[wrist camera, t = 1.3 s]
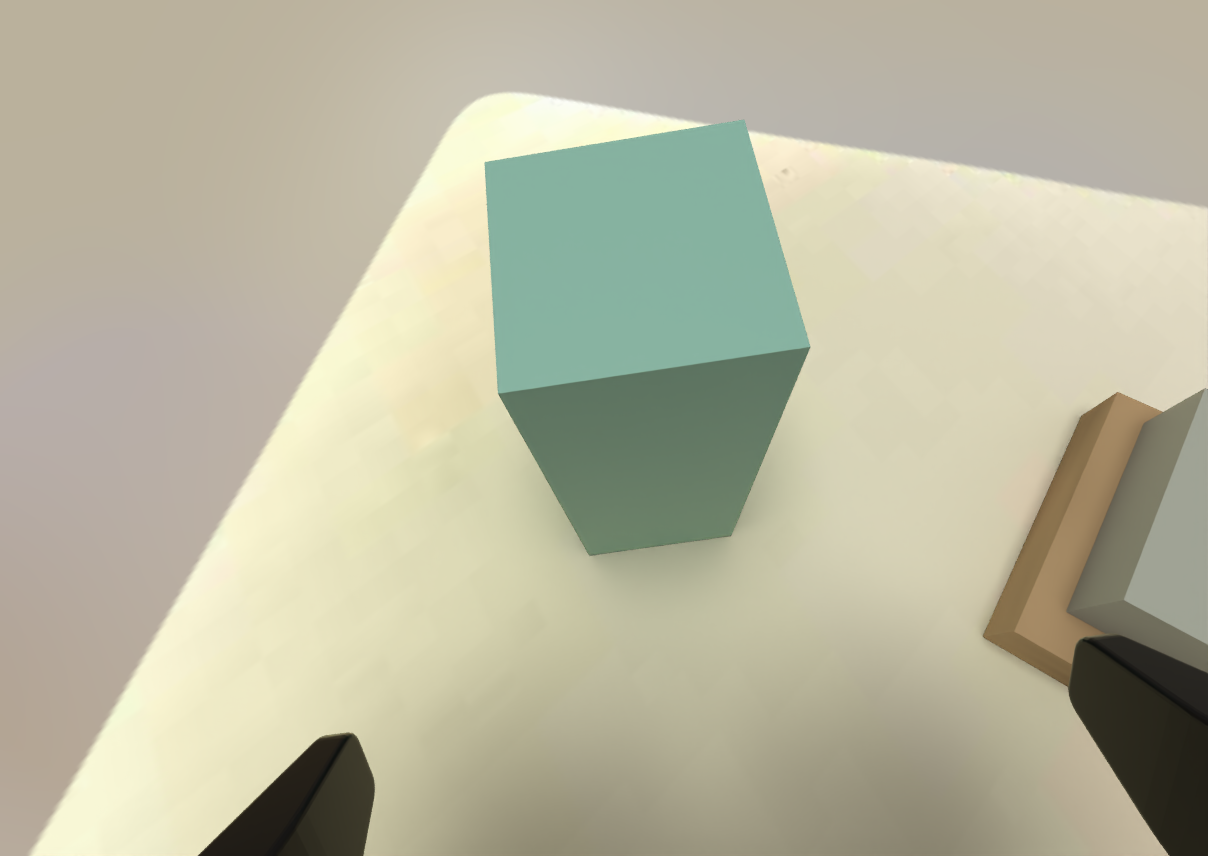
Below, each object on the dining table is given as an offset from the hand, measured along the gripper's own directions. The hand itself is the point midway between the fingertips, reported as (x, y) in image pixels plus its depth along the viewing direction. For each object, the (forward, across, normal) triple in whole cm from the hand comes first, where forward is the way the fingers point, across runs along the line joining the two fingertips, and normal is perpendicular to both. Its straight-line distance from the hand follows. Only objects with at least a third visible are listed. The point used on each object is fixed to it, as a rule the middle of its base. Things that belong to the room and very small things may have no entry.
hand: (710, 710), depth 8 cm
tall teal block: (+15, 0, +4) cm, 15 cm away
